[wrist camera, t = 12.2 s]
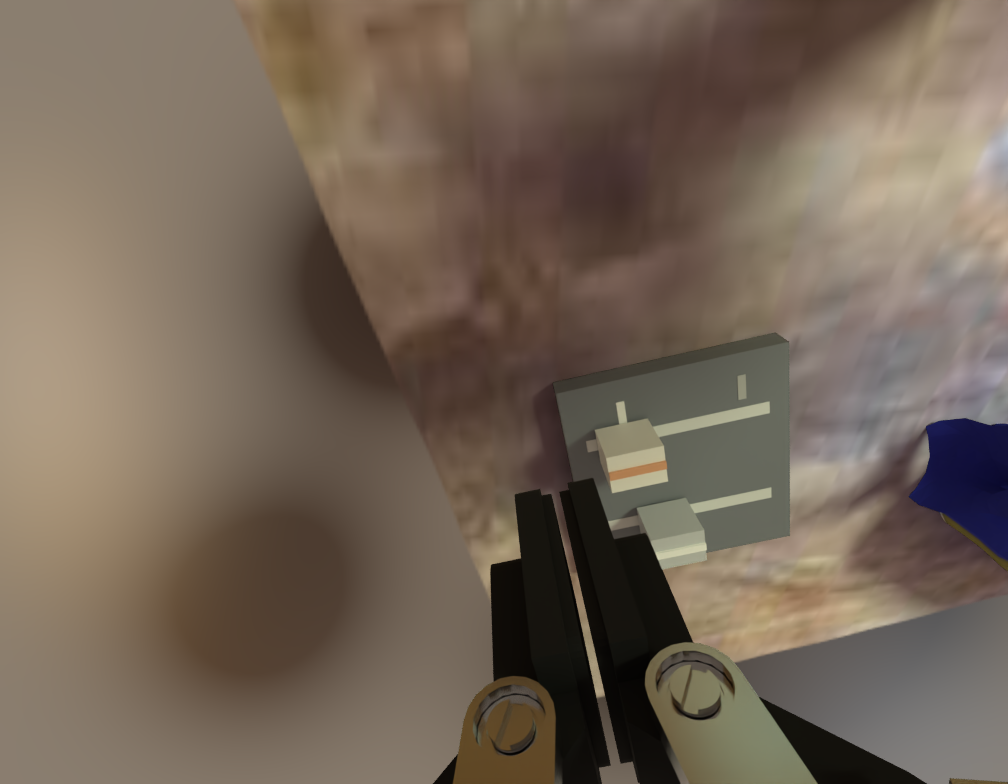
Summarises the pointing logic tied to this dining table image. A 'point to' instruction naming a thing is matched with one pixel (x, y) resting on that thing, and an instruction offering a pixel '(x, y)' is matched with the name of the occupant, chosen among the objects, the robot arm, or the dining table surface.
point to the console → (695, 436)
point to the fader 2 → (673, 532)
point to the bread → (969, 482)
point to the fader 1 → (631, 455)
